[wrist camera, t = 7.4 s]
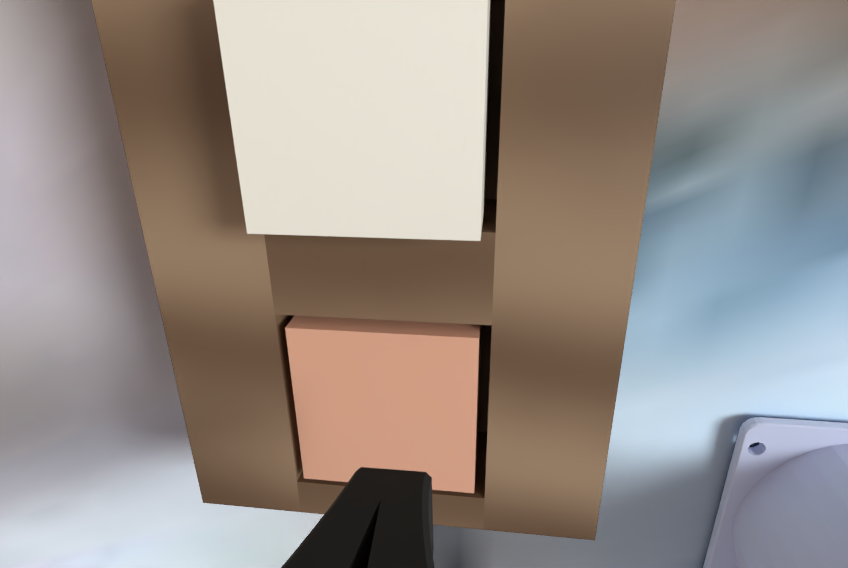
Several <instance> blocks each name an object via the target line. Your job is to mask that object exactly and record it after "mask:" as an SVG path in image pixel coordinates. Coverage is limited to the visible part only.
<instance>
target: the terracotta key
mask: <svg viewBox="0 0 848 568" xmlns="http://www.w3.org/2000/svg"><path fill="white" fill-rule="evenodd" d="M285 331H286V339H287V347H288V355H289V363H290V371H291V379H292V387H293V395H294V403H295V411H296V419H297V427H298V435H299V443H300V451H301V459H302V467H303V475H304V478H305V479H317V480H328V481H339V482H349V480H350V479H351V477H352V476H353V474H354V473H355V471H357V470H358V469H359V468H360V467H368V468H381V469H394V470H407V471H420V472H426V473H427V474H429V475H430V476H431V477H432V490H442V491H453V492H464V493H474V488H475V473H476V458H477V442H478V427H479V398H480V368H481V338H482V325H475V324H455V323H435V322H415V321H395V320H376V319H356V318H336V317H316V316H296V315H295V316H294V317H293V318H292V320H291V321H290V322H289V324H288V325H287V326H286V327H285Z"/></svg>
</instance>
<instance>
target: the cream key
mask: <svg viewBox="0 0 848 568" xmlns="http://www.w3.org/2000/svg"><path fill="white" fill-rule="evenodd" d="M213 2H214V9H215V16H216V23H217V30H218V37H219V43H220V50H221V57H222V64H223V71H224V78H225V85H226V92H227V99H228V106H229V112H230V119H231V126H232V133H233V140H234V147H235V154H236V161H237V168H238V174H239V181H240V188H241V195H242V202H243V209H244V216H245V223H246V230H247V234H272V235H304V236H336V237H368V238H399V239H431V240H463V241H480V240H481V232H482V223H483V215H484V206H485V185H486V155H487V124H488V94H489V63H490V32H491V2H492V0H213Z"/></svg>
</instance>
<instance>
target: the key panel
mask: <svg viewBox="0 0 848 568" xmlns="http://www.w3.org/2000/svg"><path fill="white" fill-rule="evenodd" d="M91 2H92V6H93V11H94V15H95V20H96V24H97V29H98V33H99V38H100V42H101V47H102V51H103V56H104V60H105V64H106V69H107V73H108V78H109V82H110V87H111V91H112V96H113V100H114V105H115V109H116V114H117V118H118V123H119V127H120V132H121V136H122V141H123V145H124V150H125V154H126V159H127V163H128V168H129V172H130V177H131V181H132V186H133V190H134V195H135V199H136V204H137V208H138V212H139V217H140V221H141V226H142V230H143V235H144V239H145V244H146V248H147V253H148V257H149V262H150V266H151V271H152V275H153V280H154V284H155V289H156V293H157V298H158V302H159V307H160V311H161V316H162V320H163V325H164V329H165V334H166V338H167V343H168V347H169V351H170V356H171V360H172V365H173V369H174V374H175V378H176V383H177V387H178V392H179V396H180V401H181V405H182V410H183V414H184V419H185V423H186V428H187V432H188V437H189V441H190V446H191V450H192V455H193V459H194V464H195V468H196V473H197V477H198V482H199V486H200V491H201V495H202V499H203V503H212V504H223V505H233V506H244V507H254V508H265V509H275V510H285V511H296V512H306V513H317V514H325V513H326V512H327V510H328V509H329V508H330V507H331V505H332V504H333V502H334V501H335V500H336V498H337V497H338V496H339V494H340V493H341V492H342V490H343V489H344V487H345V486H346V484H347V483H348V482H339V481H328V480H317V479H305V478H304V475H303V467H302V459H301V451H300V443H299V435H298V427H297V419H296V411H295V403H294V395H293V387H292V379H291V371H290V363H289V355H288V347H287V339H286V331H285V327H286V326H287V325H288V324H289V322H290V321H291V320H292V318H293V317H294V316H295V315H296V316H316V317H336V318H356V319H376V320H395V321H415V322H435V323H455V324H475V325H482V338H481V368H480V398H479V427H478V442H477V458H476V473H475V488H474V493H464V492H453V491H442V490H432V508H433V525H442V526H452V527H463V528H473V529H483V530H494V531H504V532H515V533H525V534H536V535H546V536H556V537H567V538H577V539H588V540H595V535H596V528H597V522H598V515H599V508H600V502H601V495H602V488H603V482H604V475H605V468H606V462H607V455H608V448H609V442H610V435H611V429H612V422H613V415H614V409H615V402H616V395H617V389H618V382H619V375H620V369H621V362H622V355H623V349H624V342H625V335H626V329H627V322H628V315H629V309H630V302H631V296H632V289H633V282H634V276H635V269H636V262H637V256H638V249H639V242H640V236H641V229H642V222H643V216H644V209H645V202H646V196H647V189H648V182H649V176H650V169H651V163H652V156H653V149H654V143H655V136H656V129H657V123H658V116H659V109H660V103H661V96H662V89H663V83H664V76H665V69H666V63H667V56H668V49H669V43H670V36H671V30H672V23H673V16H674V10H675V3H676V0H492V2H491V32H490V63H489V94H488V124H487V155H486V185H485V206H484V215H483V223H482V232H481V240H480V241H463V240H431V239H399V238H368V237H336V236H304V235H272V234H247V230H246V223H245V216H244V209H243V202H242V195H241V188H240V181H239V174H238V168H237V161H236V154H235V147H234V140H233V133H232V126H231V119H230V112H229V106H228V99H227V92H226V85H225V78H224V71H223V64H222V57H221V50H220V43H219V37H218V30H217V23H216V16H215V9H214V2H213V0H91Z"/></svg>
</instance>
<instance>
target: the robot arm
mask: <svg viewBox="0 0 848 568" xmlns="http://www.w3.org/2000/svg"><path fill="white" fill-rule="evenodd" d="M757 442H759V445H757V446H755V447H749V446H750V445H751V444H753V443H757ZM281 568H434V562H433V508H432V477H431V476H430V475H429V474H427V473H426V472H420V471H407V470H394V469H381V468H368V467H360V468H359V469H358V470H357V471H355V473H354V474H353V476H352V477H351V479H350V480H349V482H348V483H347V484H346V486H345V487H344V489H343V490H342V492H341V493H340V494H339V496H338V497H337V498H336V500H335V501H334V502H333V504H332V505H331V507H330V508H329V509H328V510H327V512H326V513H325V514H324V516H323V517H322V518H321V520H320V521H319V522H318V524H317V525H316V526H315V527H314V529H313V530H312V531H311V532H310V533H309V535H308V536H307V537H306V538H305V540H304V541H303V542H302V543H301V544H300V546H299V547H298V548H297V549H296V551H295V552H294V553H293V554H292V556H291V557H290V558H289V559H288V560H287V561H286V563H285V564H284V565H283V566H282V567H281ZM703 568H848V423H841V422H826V421H811V420H796V419H781V418H766V417H754V418H751V419H748V420H746V421H745V422H744V423H743V424H742V425H741V427H740V429H739V433H738V437H737V440H736V444H735V448H734V452H733V456H732V459H731V463H730V467H729V471H728V475H727V478H726V482H725V486H724V490H723V494H722V497H721V501H720V505H719V509H718V513H717V516H716V520H715V524H714V528H713V532H712V535H711V539H710V543H709V547H708V551H707V554H706V558H705V562H704V566H703Z"/></svg>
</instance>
